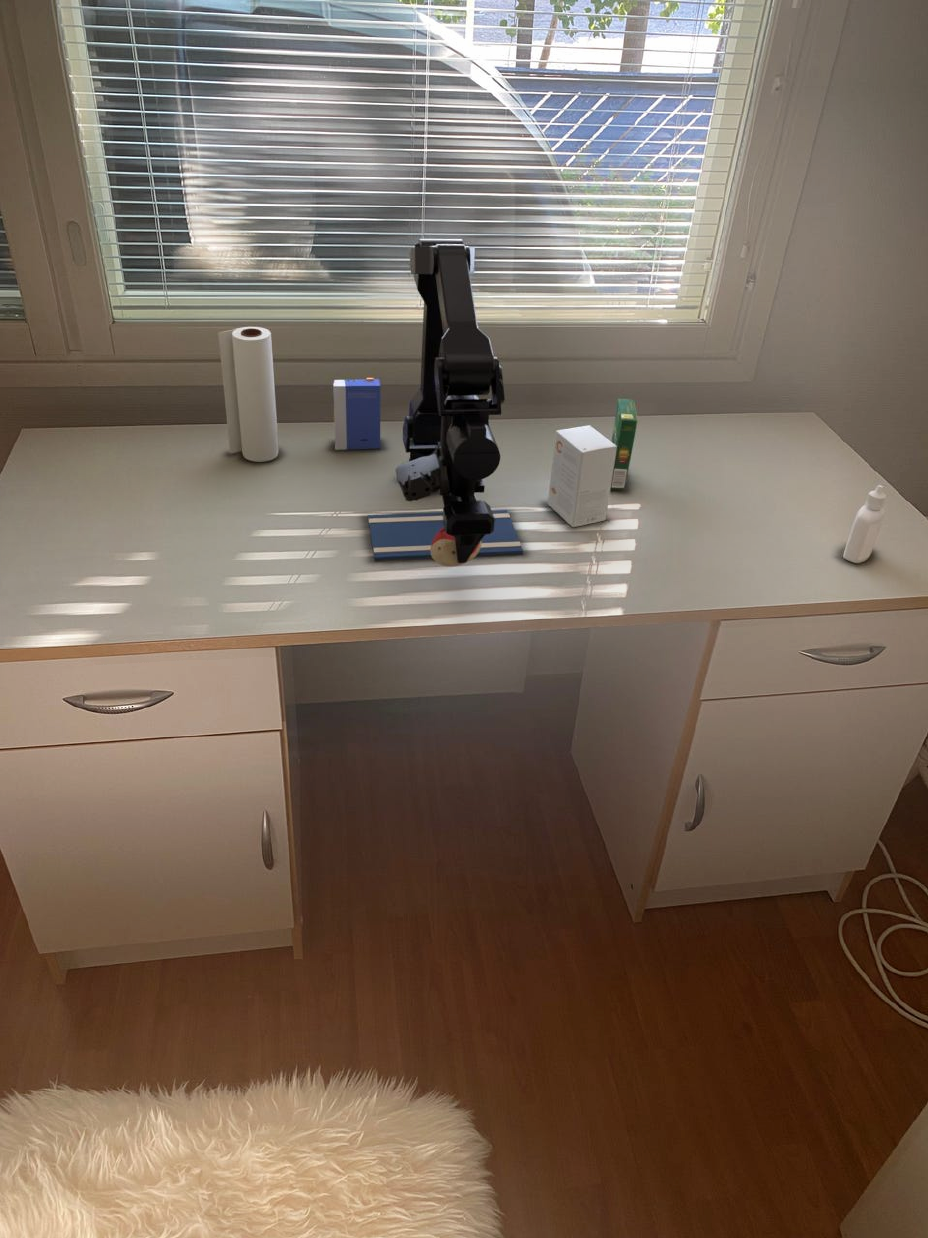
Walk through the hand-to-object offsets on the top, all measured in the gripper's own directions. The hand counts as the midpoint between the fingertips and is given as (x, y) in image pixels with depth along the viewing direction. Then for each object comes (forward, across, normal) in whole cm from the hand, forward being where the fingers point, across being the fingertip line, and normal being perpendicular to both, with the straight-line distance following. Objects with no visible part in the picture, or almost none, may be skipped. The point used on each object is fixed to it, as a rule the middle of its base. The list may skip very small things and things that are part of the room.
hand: (456, 544), depth 135 cm
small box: (+6, -16, +22) cm, 28 cm away
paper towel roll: (+6, -40, -28) cm, 49 cm away
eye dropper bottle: (+6, 0, +62) cm, 63 cm away
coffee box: (+6, -26, +32) cm, 42 cm away
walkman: (+6, -42, -11) cm, 43 cm away
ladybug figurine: (+1, 0, 0) cm, 1 cm away
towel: (+5, -11, 0) cm, 12 cm away
